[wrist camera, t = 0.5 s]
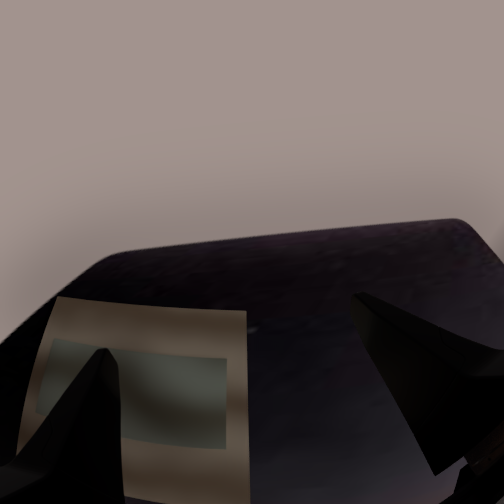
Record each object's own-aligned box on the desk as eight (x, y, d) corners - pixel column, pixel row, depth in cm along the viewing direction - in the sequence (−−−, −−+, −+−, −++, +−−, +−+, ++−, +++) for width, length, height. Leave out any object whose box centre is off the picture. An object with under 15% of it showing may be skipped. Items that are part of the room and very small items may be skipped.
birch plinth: (247, 504, 15) (250, 508, 12) (35, 461, 13) (14, 455, 11) (244, 328, 26) (246, 309, 24) (69, 313, 25) (57, 295, 22)
